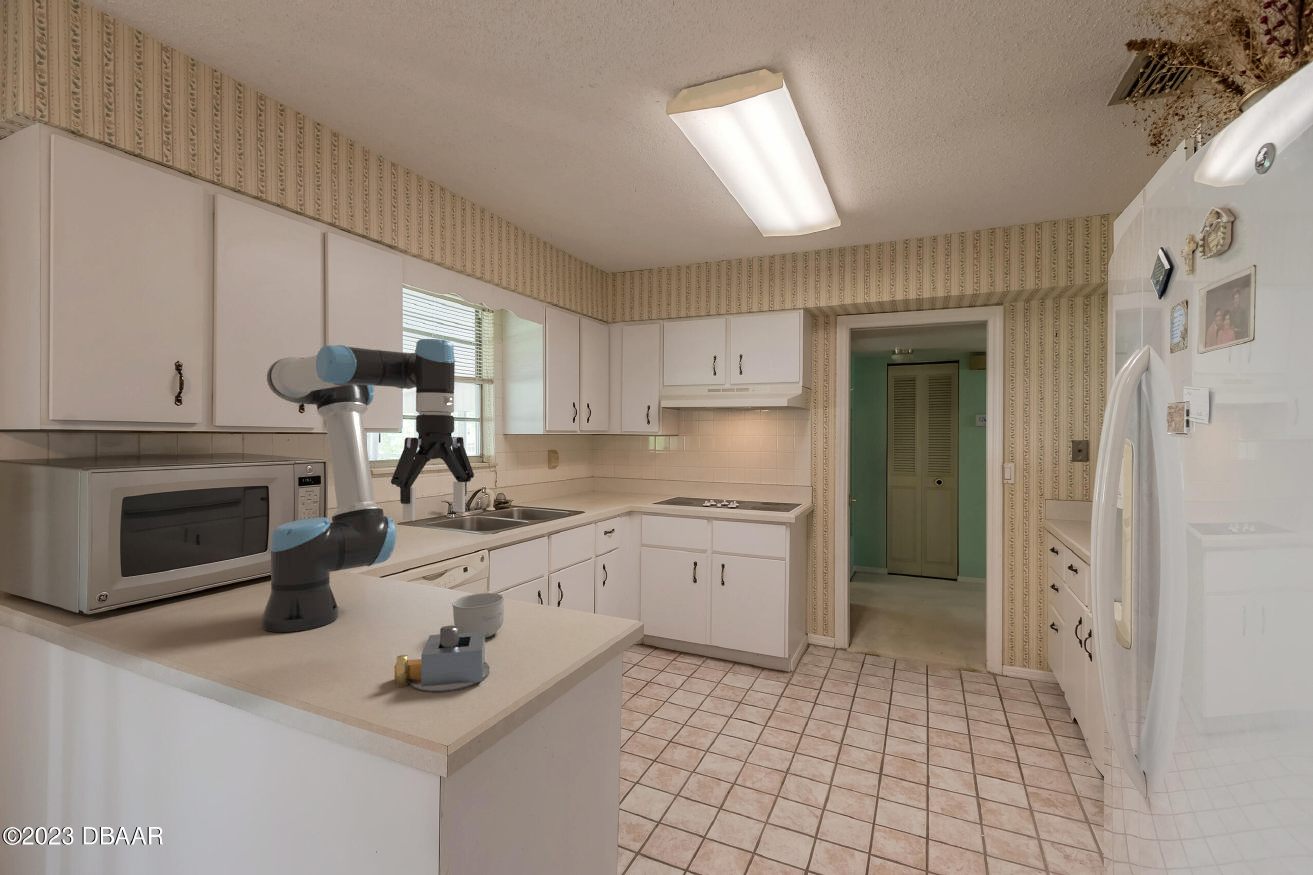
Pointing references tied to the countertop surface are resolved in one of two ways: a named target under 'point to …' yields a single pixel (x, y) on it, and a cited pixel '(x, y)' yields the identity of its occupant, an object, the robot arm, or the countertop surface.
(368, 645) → the countertop surface
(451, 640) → the rod on disc base
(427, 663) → the grey hollow block
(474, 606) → the teacup
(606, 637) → the countertop surface
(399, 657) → the dowel pin
